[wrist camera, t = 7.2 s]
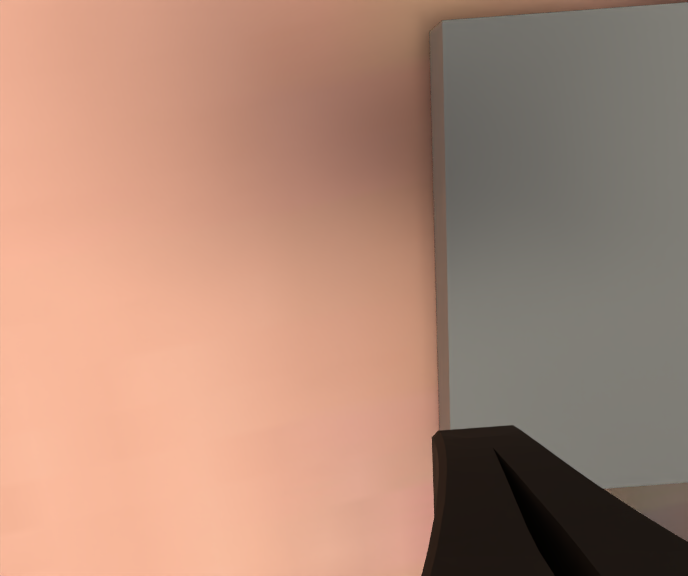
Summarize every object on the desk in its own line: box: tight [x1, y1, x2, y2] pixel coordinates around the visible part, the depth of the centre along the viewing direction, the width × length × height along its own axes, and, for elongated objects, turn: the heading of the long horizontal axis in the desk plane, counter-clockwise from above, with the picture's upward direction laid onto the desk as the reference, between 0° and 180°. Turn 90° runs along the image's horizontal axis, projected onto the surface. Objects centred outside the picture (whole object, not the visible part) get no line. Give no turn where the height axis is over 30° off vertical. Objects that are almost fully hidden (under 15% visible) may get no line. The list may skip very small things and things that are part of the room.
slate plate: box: [429, 2, 688, 489], centre depth 17 cm, size 14×13×2 cm
